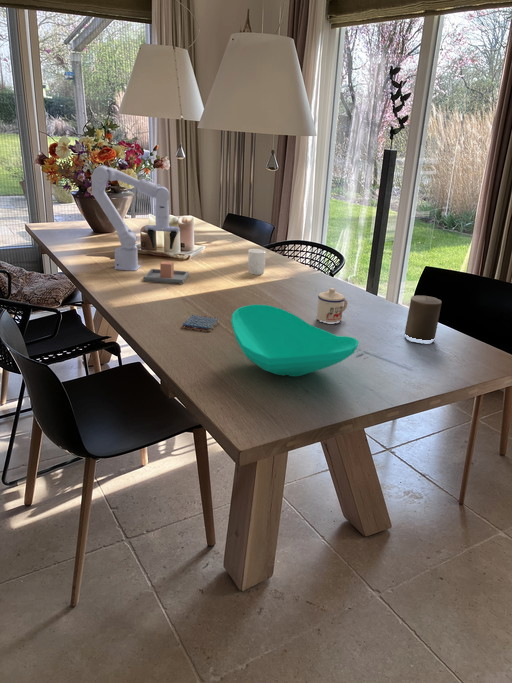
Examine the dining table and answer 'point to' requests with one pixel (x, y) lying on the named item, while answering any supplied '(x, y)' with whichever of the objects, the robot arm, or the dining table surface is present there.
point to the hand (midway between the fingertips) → (162, 247)
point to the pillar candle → (423, 317)
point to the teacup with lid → (331, 306)
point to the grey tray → (177, 278)
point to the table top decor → (287, 341)
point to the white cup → (256, 261)
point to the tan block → (166, 269)
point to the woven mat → (200, 323)
